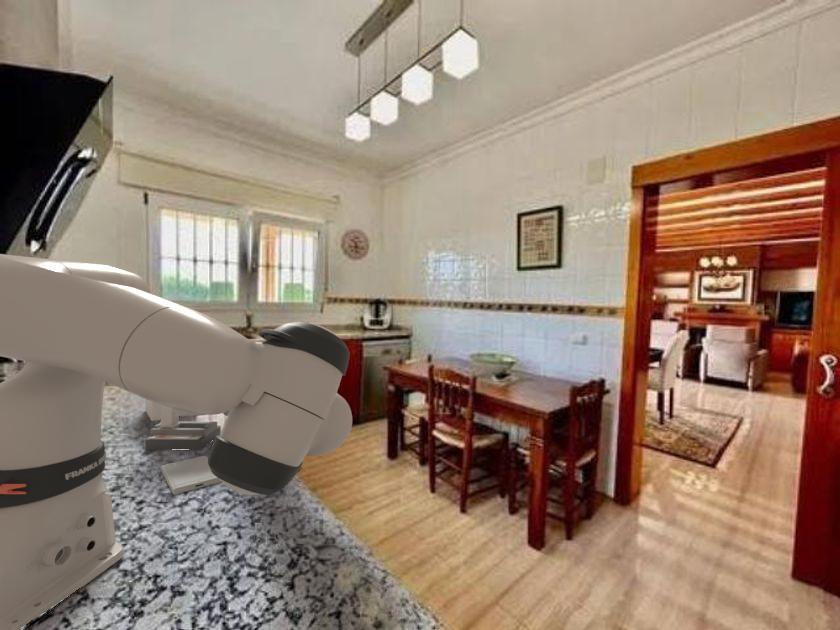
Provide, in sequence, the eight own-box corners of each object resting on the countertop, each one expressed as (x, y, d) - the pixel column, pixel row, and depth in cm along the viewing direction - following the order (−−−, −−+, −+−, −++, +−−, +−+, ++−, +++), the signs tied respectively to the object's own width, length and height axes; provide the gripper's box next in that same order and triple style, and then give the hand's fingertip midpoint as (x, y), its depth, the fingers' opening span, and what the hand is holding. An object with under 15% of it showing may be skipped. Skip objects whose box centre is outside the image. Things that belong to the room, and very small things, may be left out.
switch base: (200, 450, 87) (201, 431, 87) (145, 450, 86) (145, 430, 86) (220, 435, 97) (220, 417, 96) (170, 434, 96) (170, 417, 96)
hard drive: (160, 465, 76) (173, 488, 67) (206, 455, 82) (223, 475, 73) (160, 473, 76) (173, 497, 67) (206, 462, 82) (223, 483, 73)
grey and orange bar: (173, 433, 89) (174, 348, 89) (157, 433, 89) (159, 347, 88) (181, 428, 93) (182, 346, 92) (166, 428, 92) (167, 346, 92)
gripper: (216, 423, 81) (147, 423, 80) (251, 399, 102) (197, 398, 101) (216, 394, 81) (148, 393, 80) (251, 375, 102) (197, 374, 101)
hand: (175, 396), depth 91 cm, fingers closed, pressing on grey and orange bar
